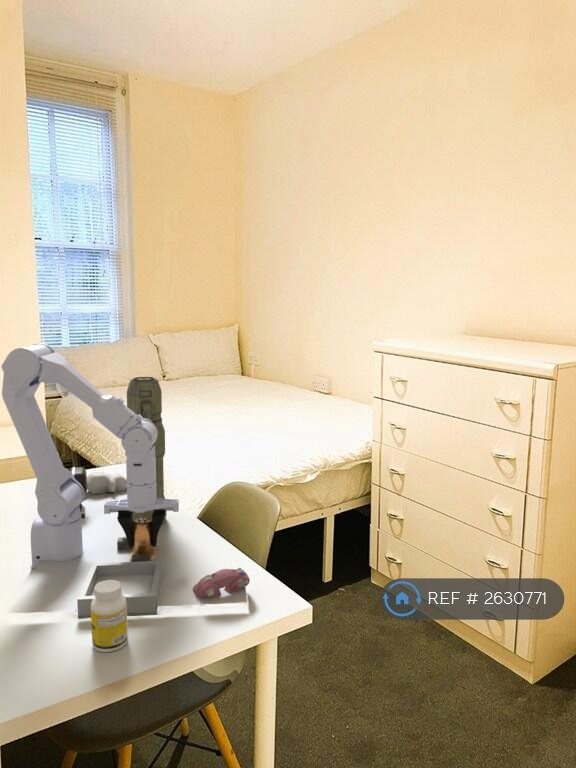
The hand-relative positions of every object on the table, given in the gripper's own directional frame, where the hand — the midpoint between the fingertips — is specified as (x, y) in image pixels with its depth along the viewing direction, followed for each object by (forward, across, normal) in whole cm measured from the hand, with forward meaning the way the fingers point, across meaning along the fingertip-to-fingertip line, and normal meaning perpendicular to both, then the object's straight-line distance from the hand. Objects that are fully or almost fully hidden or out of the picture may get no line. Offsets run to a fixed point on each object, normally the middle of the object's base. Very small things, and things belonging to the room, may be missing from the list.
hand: (142, 545), depth 121 cm
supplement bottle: (+4, -2, -28) cm, 28 cm away
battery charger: (+4, -18, +26) cm, 32 cm away
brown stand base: (+3, 0, 0) cm, 3 cm away
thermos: (+4, -1, +17) cm, 17 cm away
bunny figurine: (+4, -16, +42) cm, 45 cm away
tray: (+3, -2, -14) cm, 15 cm away
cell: (+2, 0, 0) cm, 2 cm away
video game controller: (+4, +16, -16) cm, 22 cm away
